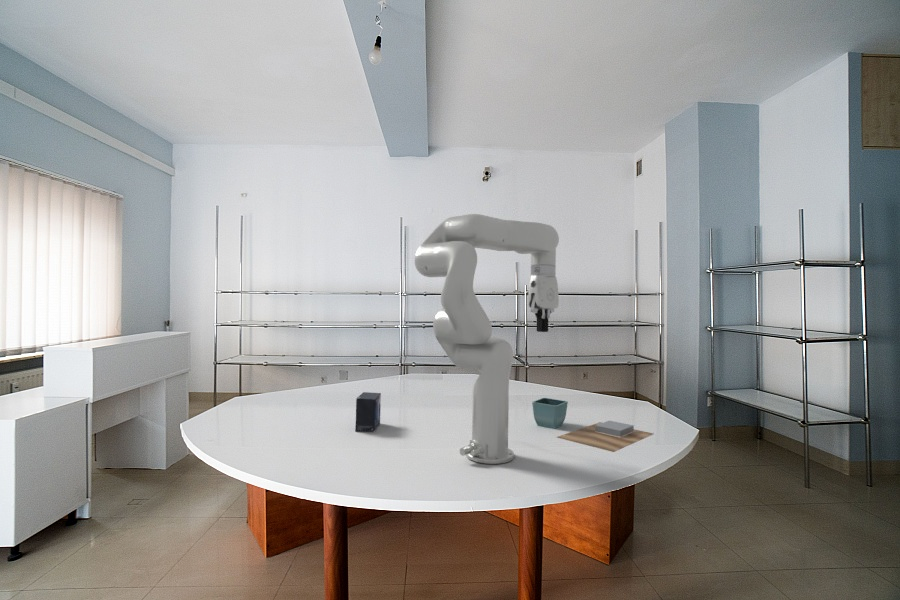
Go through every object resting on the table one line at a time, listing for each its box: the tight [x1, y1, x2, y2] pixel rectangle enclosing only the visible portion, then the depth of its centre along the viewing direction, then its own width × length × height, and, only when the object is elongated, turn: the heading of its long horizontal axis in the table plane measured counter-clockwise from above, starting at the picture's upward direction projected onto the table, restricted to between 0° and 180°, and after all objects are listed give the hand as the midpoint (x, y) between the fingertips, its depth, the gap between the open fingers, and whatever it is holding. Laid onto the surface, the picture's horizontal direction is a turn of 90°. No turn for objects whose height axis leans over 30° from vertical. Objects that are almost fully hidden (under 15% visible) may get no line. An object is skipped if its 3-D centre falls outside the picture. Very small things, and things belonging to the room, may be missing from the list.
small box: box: [354, 391, 382, 433], centre depth 151 cm, size 11×6×10 cm, turn 179°
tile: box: [595, 420, 635, 437], centre depth 145 cm, size 2×8×9 cm
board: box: [556, 422, 654, 453], centre depth 141 cm, size 26×18×1 cm
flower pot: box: [532, 397, 569, 429], centre depth 152 cm, size 9×9×9 cm
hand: (542, 331), depth 144 cm, fingers closed
